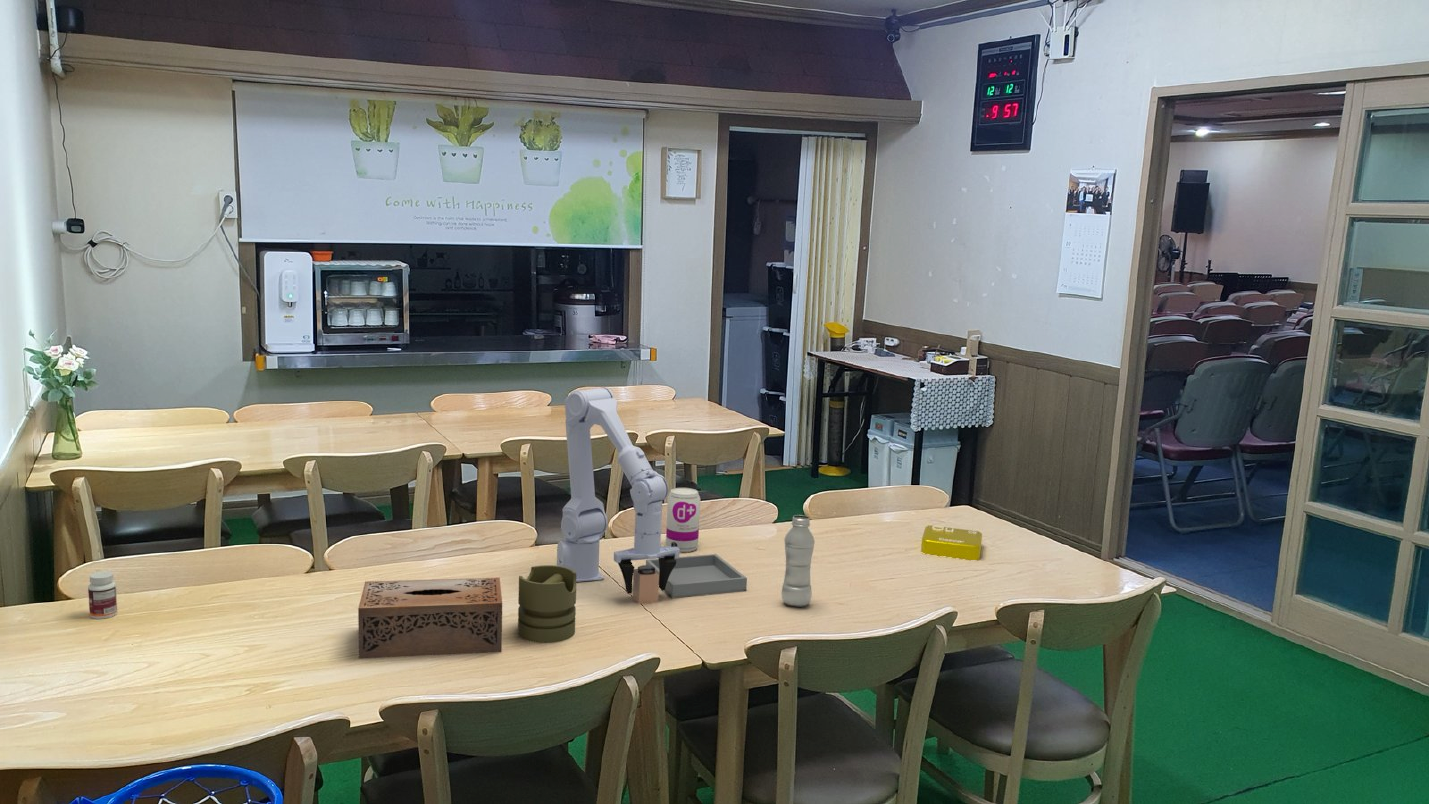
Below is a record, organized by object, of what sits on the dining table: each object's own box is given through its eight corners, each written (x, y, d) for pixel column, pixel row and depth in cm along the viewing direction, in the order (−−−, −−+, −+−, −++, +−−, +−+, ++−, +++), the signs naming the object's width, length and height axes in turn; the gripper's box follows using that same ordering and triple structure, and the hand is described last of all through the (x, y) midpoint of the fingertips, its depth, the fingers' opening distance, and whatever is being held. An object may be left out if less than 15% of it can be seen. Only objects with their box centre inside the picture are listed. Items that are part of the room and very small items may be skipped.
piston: (508, 579, 204) (534, 562, 214) (507, 638, 206) (532, 618, 216) (562, 587, 201) (585, 569, 211) (561, 646, 203) (583, 626, 213)
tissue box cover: (498, 624, 213) (499, 577, 211) (501, 653, 199) (502, 603, 197) (365, 629, 207) (365, 581, 205) (358, 660, 193) (358, 608, 191)
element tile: (920, 555, 273) (921, 537, 272) (924, 539, 287) (926, 522, 286) (979, 563, 269) (980, 545, 268) (981, 546, 283) (982, 529, 282)
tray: (672, 598, 232) (672, 585, 231) (645, 572, 248) (646, 559, 247) (746, 590, 239) (746, 578, 238) (715, 565, 255) (716, 553, 254)
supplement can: (697, 554, 263) (700, 496, 261) (664, 552, 263) (667, 494, 261) (698, 544, 271) (701, 488, 269) (666, 542, 271) (669, 486, 269)
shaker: (638, 603, 227) (640, 572, 226) (632, 596, 231) (633, 565, 230) (657, 602, 229) (659, 570, 228) (651, 595, 233) (652, 564, 232)
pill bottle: (92, 611, 208) (89, 571, 207) (119, 609, 210) (117, 569, 208) (87, 620, 204) (85, 579, 202) (115, 618, 205) (113, 577, 204)
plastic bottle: (809, 611, 228) (815, 522, 224) (778, 607, 229) (784, 519, 226) (812, 601, 234) (818, 514, 231) (782, 598, 235) (788, 511, 232)
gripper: (621, 538, 221) (619, 600, 223) (685, 533, 227) (682, 593, 229) (611, 529, 227) (609, 589, 230) (674, 524, 233) (671, 583, 235)
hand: (645, 590), depth 230 cm, fingers open, 7 cm apart
